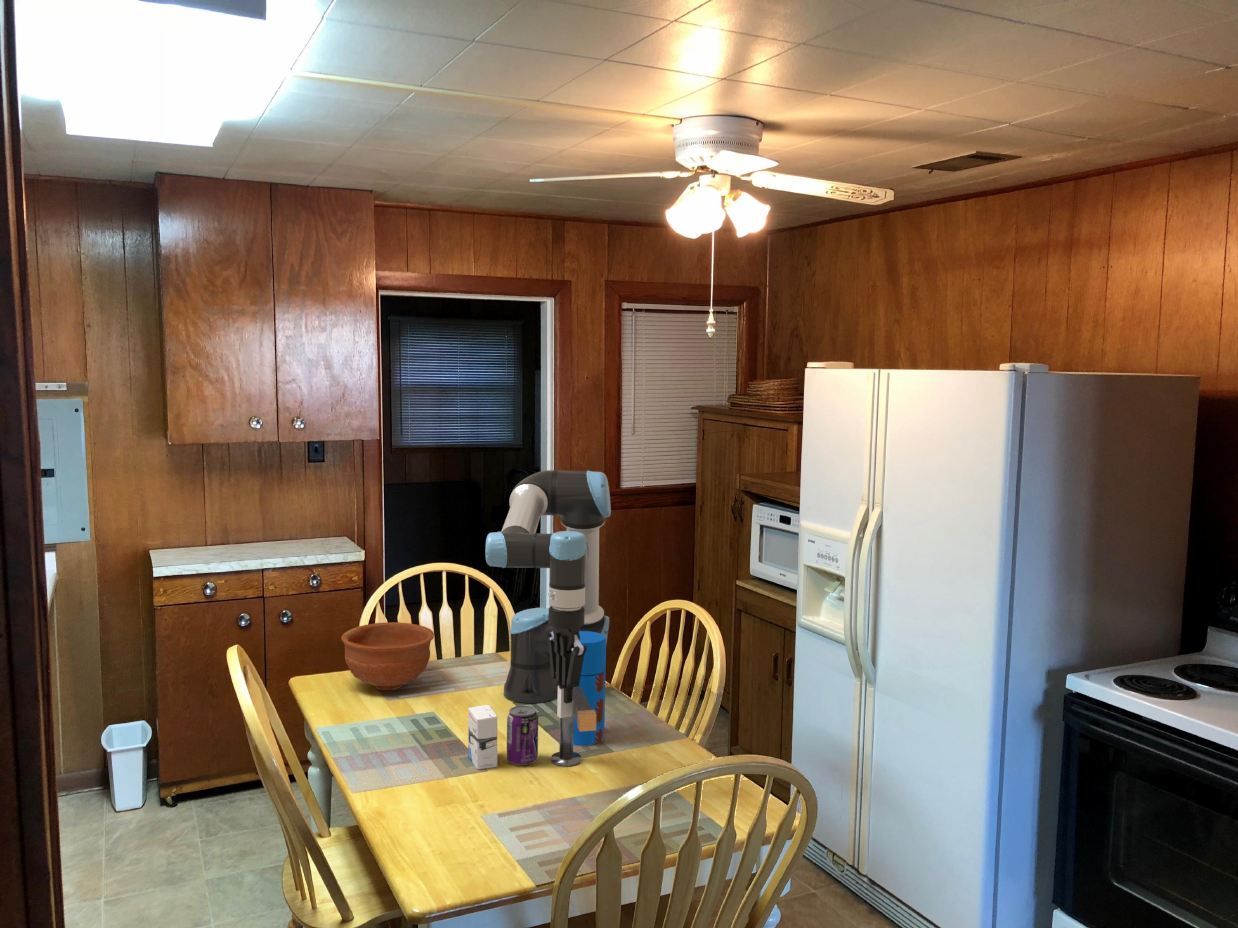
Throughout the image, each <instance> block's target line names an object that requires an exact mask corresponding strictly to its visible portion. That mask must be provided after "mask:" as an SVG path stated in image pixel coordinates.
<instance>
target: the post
mask: <svg viewBox="0 0 1238 928" xmlns="http://www.w3.org/2000/svg"><path fill="white" fill-rule="evenodd" d="M573 739H574V716H573V714H572V716H569V717H564V718H559V742H558V743H559V745H558V747H559V748H558V749H559V751H556V752H555V753H552V754H551V756H550V763H551V764H553V765H554V766H557V767H563V768H565V767H566V768H568V767H569V768H570V767H574V766H575V767H576V766H579V765H580V764H581V763H582V754H580V753H578V752H576V751H574V745H573Z"/></svg>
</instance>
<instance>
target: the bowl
mask: <svg viewBox="0 0 1238 928" xmlns="http://www.w3.org/2000/svg"><path fill="white" fill-rule="evenodd" d="M434 638H435V633H434V631H433V630H432V629H431V628H428V627H427V626H424V625H419V624H417V623H415V624H414V623H410V622H398V621H395V622H393V621H391V622H376V623H368V624H364V625H360V626H356V627H354V628H351V629H349V630H347V631H345V632H344V633H343V634H342V635H341V642H342V643H343V644H344V646H343V647H344V660H345V661H344V662H345V663H346V665H347V666H348V669H349V672H350V673H351V675H353V677H354V678H355V679H358V680H359V681H361V682H362V683H365V684H368V685H372V686H374V687H375V688H376V689H377V690H381V691H394V690H397V689H400V688H403V687H404V686H405V684H408V683H410V682H413V681H414V680H416V679H417V678H418V677H419V676H420V675H421V674H422V673H423V672H424V671H425V670H426V669H427V666H428V665H429V661H430V659H431V649H430V648H431V642H432V640H433V639H434Z"/></svg>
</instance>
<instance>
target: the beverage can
mask: <svg viewBox="0 0 1238 928" xmlns="http://www.w3.org/2000/svg"><path fill="white" fill-rule="evenodd" d="M508 712H509V713H508V715H507V717H506V760H507V761H508V762H509V763H511V764H514V765H515V766H527V765H530V764H532V763H535V762H536V761H537V760H538V759H539V716H538V713H537V708H535V707H534V706H532V705H531V706H530V705H515V706H513V707H511V708H509V710H508Z"/></svg>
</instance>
